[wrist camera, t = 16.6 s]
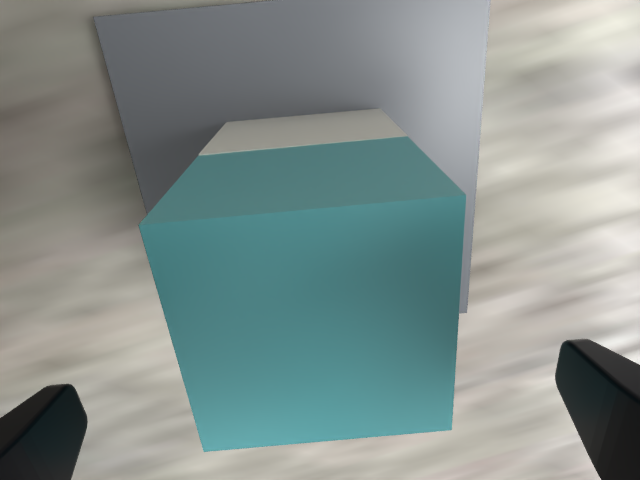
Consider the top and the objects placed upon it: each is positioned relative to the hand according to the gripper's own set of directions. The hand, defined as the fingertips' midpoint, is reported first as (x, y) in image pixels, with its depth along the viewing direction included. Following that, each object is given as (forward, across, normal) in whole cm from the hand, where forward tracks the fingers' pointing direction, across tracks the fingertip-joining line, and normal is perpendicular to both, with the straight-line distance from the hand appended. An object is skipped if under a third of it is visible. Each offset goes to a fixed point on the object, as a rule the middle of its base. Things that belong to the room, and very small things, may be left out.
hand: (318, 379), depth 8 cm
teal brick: (+6, 0, 0) cm, 6 cm away
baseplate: (+13, 0, 0) cm, 13 cm away
